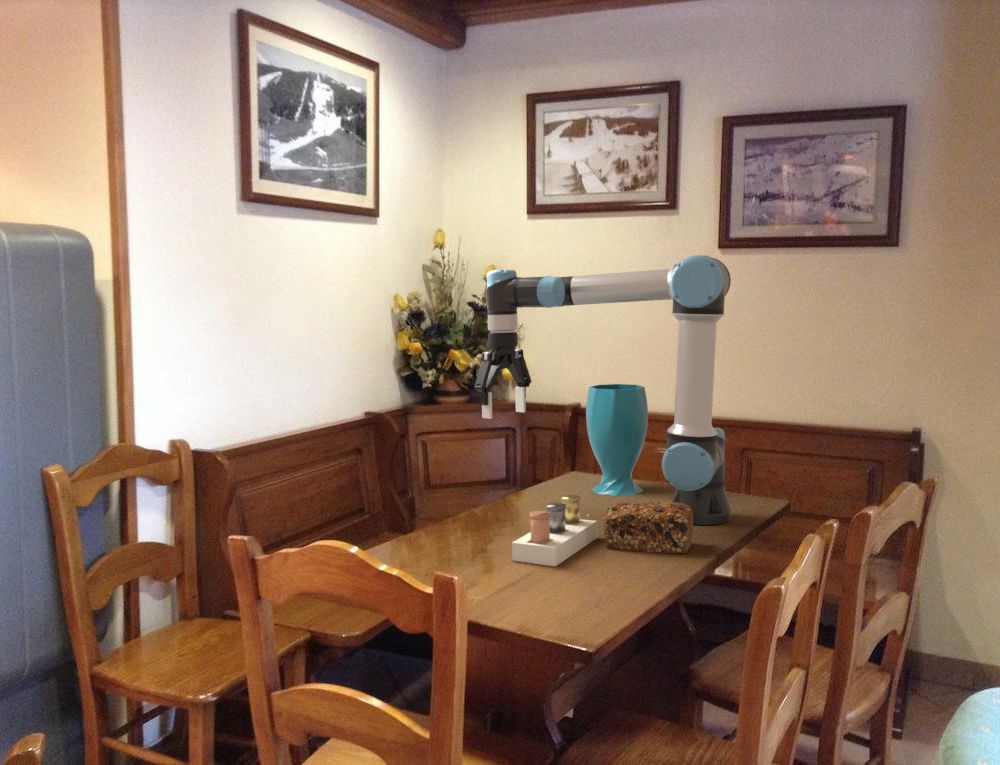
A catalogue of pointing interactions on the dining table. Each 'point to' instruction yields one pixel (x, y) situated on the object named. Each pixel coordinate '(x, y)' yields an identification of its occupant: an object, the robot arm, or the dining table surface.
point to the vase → (617, 434)
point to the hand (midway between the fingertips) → (504, 415)
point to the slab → (555, 544)
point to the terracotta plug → (540, 526)
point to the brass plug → (571, 508)
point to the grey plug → (556, 517)
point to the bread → (649, 527)
